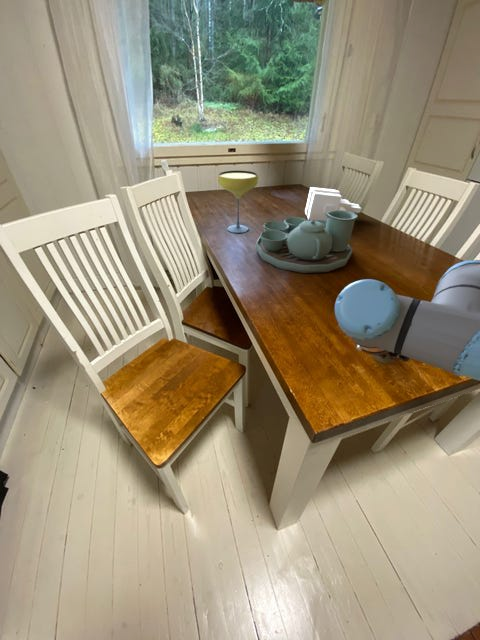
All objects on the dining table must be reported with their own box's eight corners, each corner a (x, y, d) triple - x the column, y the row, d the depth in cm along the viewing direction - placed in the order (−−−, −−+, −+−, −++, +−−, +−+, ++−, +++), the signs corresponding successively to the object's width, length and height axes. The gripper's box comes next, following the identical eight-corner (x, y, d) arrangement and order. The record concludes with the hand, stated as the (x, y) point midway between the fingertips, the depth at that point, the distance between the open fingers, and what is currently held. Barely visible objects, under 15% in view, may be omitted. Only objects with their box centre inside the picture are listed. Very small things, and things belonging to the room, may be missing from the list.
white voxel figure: (360, 230, 144) (308, 224, 143) (348, 214, 163) (301, 209, 162) (371, 200, 134) (315, 194, 134) (356, 188, 154) (307, 182, 153)
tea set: (310, 229, 138) (316, 195, 128) (370, 262, 110) (384, 221, 100) (240, 242, 125) (240, 205, 115) (288, 284, 97) (294, 239, 87)
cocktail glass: (246, 221, 147) (248, 169, 132) (261, 233, 134) (265, 176, 119) (215, 225, 142) (212, 171, 126) (227, 238, 129) (226, 180, 113)
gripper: (328, 330, 50) (349, 350, 70) (400, 371, 43) (401, 380, 62) (350, 295, 50) (365, 325, 69) (427, 330, 42) (419, 352, 62)
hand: (382, 351), depth 66 cm, fingers closed
